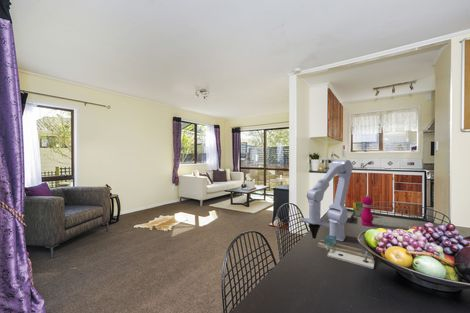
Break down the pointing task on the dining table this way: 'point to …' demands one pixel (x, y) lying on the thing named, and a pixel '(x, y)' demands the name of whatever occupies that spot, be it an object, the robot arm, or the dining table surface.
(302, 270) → the dining table surface
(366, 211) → the pepper mill
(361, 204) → the crayon box
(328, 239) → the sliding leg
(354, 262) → the bolt plate
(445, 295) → the dining table surface
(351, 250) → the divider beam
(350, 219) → the calculator
